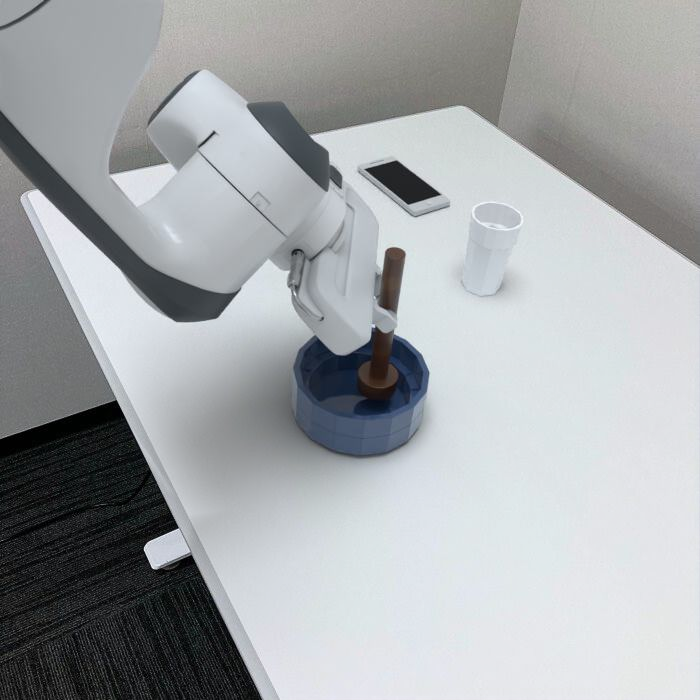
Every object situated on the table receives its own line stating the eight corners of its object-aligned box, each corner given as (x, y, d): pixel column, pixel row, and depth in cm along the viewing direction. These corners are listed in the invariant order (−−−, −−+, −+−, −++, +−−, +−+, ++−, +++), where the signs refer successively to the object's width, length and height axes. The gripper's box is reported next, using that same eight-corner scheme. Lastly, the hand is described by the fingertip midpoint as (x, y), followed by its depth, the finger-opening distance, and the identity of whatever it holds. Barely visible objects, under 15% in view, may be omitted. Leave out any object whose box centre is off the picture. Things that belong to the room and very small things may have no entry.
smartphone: (414, 216, 116) (415, 211, 116) (356, 169, 125) (357, 164, 125) (450, 205, 120) (451, 200, 119) (391, 160, 129) (392, 155, 128)
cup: (481, 264, 109) (498, 196, 101) (514, 289, 105) (534, 221, 98) (446, 278, 106) (460, 209, 98) (479, 305, 102) (497, 235, 95)
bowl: (340, 479, 79) (345, 440, 75) (268, 392, 87) (268, 353, 83) (447, 424, 86) (456, 386, 82) (370, 348, 94) (375, 310, 90)
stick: (372, 406, 83) (391, 271, 71) (348, 381, 86) (363, 247, 74) (404, 391, 85) (427, 258, 73) (380, 367, 88) (399, 235, 76)
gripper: (313, 273, 63) (417, 372, 69) (334, 152, 78) (417, 242, 85) (258, 310, 66) (363, 401, 72) (289, 186, 81) (373, 271, 88)
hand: (392, 314), depth 79 cm, fingers closed on stick, 2 cm apart
